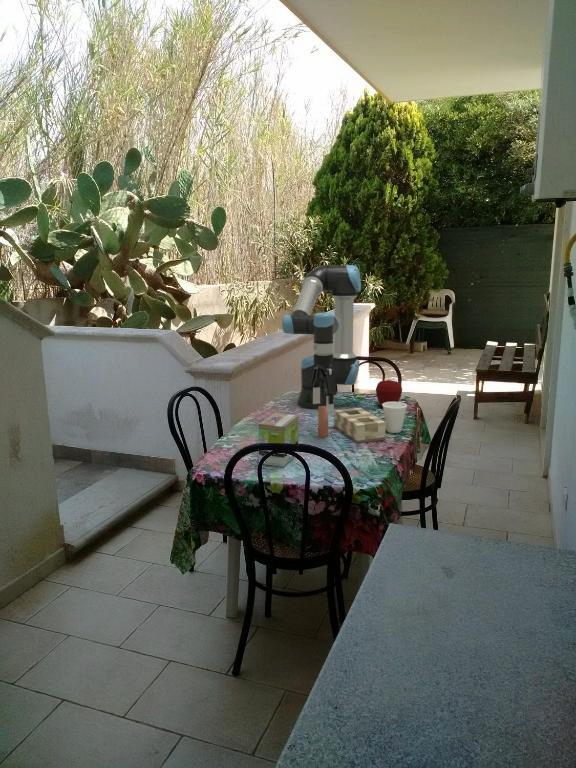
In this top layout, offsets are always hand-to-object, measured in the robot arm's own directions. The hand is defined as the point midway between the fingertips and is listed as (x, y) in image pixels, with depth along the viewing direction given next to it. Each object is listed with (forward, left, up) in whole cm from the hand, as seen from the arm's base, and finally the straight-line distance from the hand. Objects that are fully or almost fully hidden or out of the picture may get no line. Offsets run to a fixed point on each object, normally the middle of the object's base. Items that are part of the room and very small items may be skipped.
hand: (323, 407), depth 228 cm
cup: (+3, +30, -12) cm, 32 cm away
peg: (0, 0, -12) cm, 12 cm away
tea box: (+17, -24, -12) cm, 32 cm away
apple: (-29, +45, -12) cm, 55 cm away
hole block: (+1, +15, -12) cm, 19 cm away
